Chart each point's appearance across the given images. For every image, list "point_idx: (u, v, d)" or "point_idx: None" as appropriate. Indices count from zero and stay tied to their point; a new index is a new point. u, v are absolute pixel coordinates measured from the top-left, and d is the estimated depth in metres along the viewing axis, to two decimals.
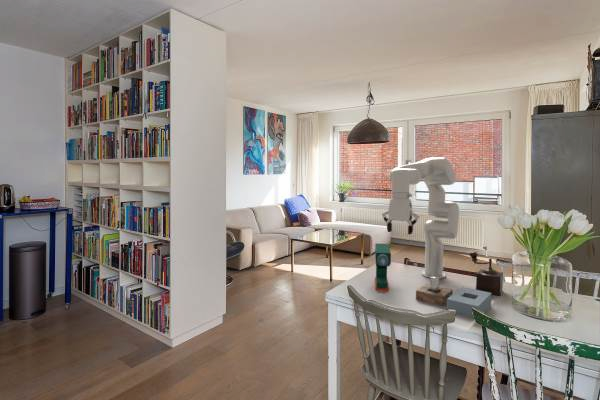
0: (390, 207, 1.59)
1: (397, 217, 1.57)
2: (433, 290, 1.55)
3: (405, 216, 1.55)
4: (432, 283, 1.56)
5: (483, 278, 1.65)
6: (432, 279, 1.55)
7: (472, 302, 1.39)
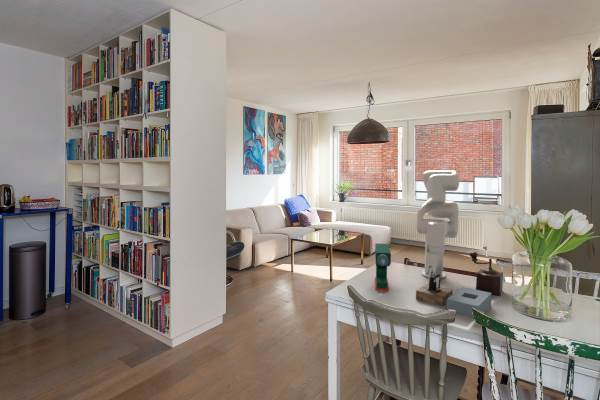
0: (436, 263, 1.52)
1: (439, 271, 1.54)
2: None
3: (442, 268, 1.57)
4: None
5: (483, 278, 1.65)
6: None
7: (472, 302, 1.39)
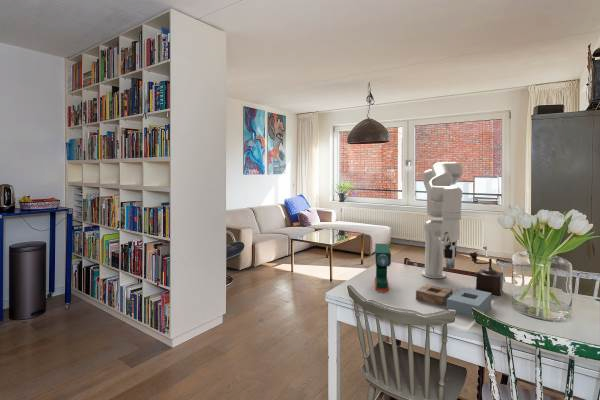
0: (453, 229, 1.46)
1: (455, 238, 1.49)
2: None
3: (458, 235, 1.51)
4: None
5: (483, 278, 1.65)
6: None
7: (472, 302, 1.39)
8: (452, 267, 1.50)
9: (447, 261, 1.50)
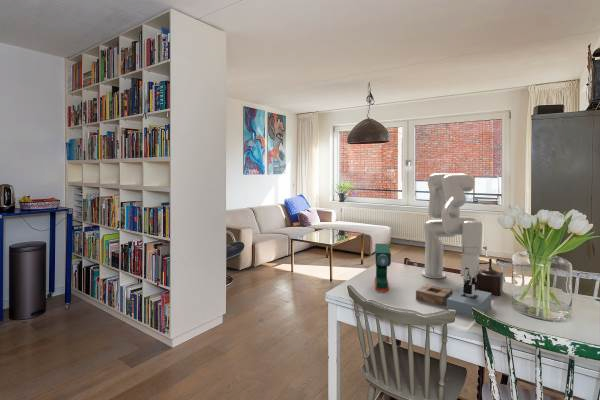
0: (473, 265, 1.41)
1: (475, 273, 1.44)
2: None
3: (478, 270, 1.47)
4: None
5: (483, 278, 1.65)
6: None
7: (472, 302, 1.39)
8: None
9: None
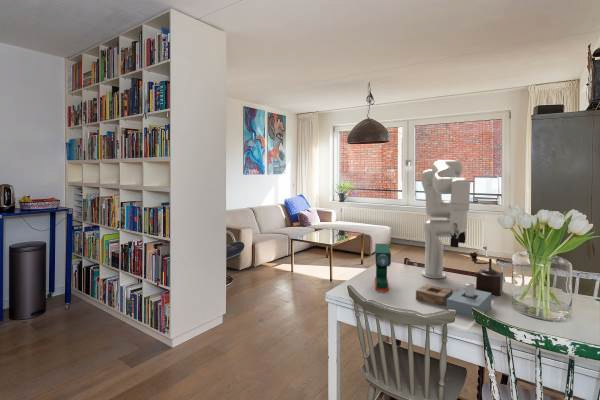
0: (461, 220, 1.49)
1: (463, 229, 1.52)
2: None
3: (466, 226, 1.54)
4: (467, 291, 1.45)
5: (483, 278, 1.65)
6: (467, 286, 1.45)
7: (472, 302, 1.39)
8: None
9: None
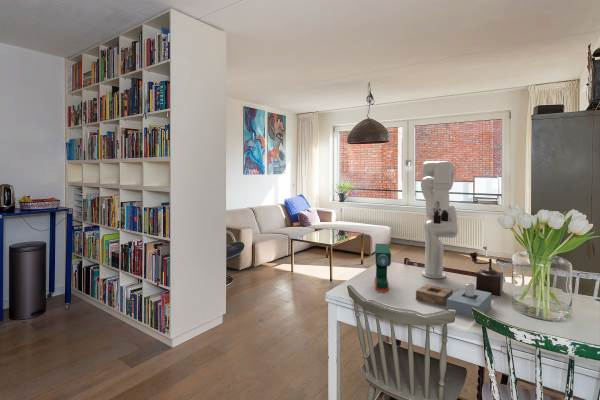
0: (443, 198, 1.62)
1: (445, 207, 1.65)
2: None
3: (448, 205, 1.67)
4: (467, 291, 1.46)
5: (483, 278, 1.65)
6: (467, 286, 1.45)
7: (472, 302, 1.39)
8: None
9: None
